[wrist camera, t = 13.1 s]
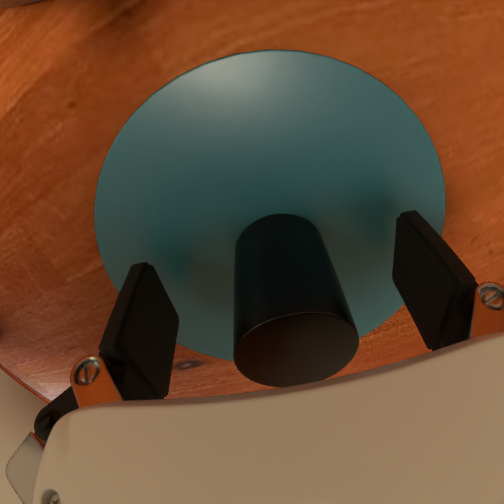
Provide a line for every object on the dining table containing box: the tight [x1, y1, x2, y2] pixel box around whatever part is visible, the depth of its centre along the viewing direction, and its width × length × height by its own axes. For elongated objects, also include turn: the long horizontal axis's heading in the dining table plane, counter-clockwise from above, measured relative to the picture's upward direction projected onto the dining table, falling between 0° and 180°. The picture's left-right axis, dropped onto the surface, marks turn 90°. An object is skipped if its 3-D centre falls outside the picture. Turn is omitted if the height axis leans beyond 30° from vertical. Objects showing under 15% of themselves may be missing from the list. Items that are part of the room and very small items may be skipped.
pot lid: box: [94, 50, 446, 387], centre depth 10 cm, size 15×15×6 cm
